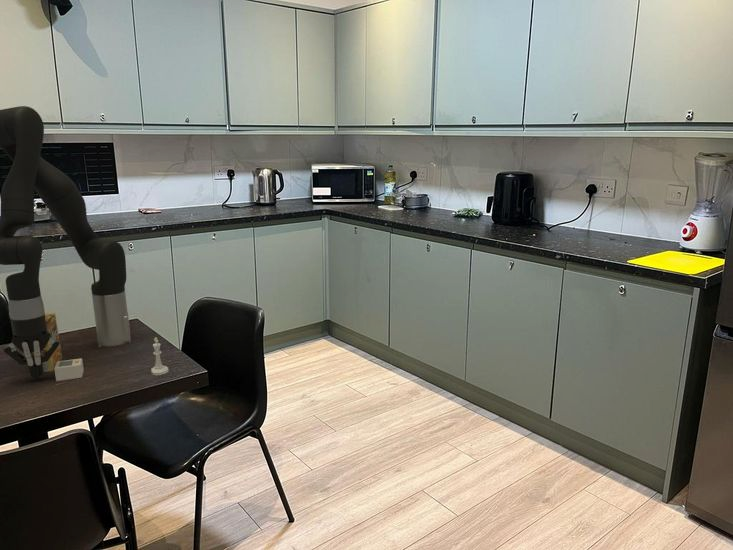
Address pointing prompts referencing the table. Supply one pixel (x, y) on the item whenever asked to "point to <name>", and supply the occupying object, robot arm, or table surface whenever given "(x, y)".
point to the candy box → (54, 334)
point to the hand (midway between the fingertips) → (37, 377)
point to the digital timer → (69, 369)
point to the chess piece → (158, 361)
